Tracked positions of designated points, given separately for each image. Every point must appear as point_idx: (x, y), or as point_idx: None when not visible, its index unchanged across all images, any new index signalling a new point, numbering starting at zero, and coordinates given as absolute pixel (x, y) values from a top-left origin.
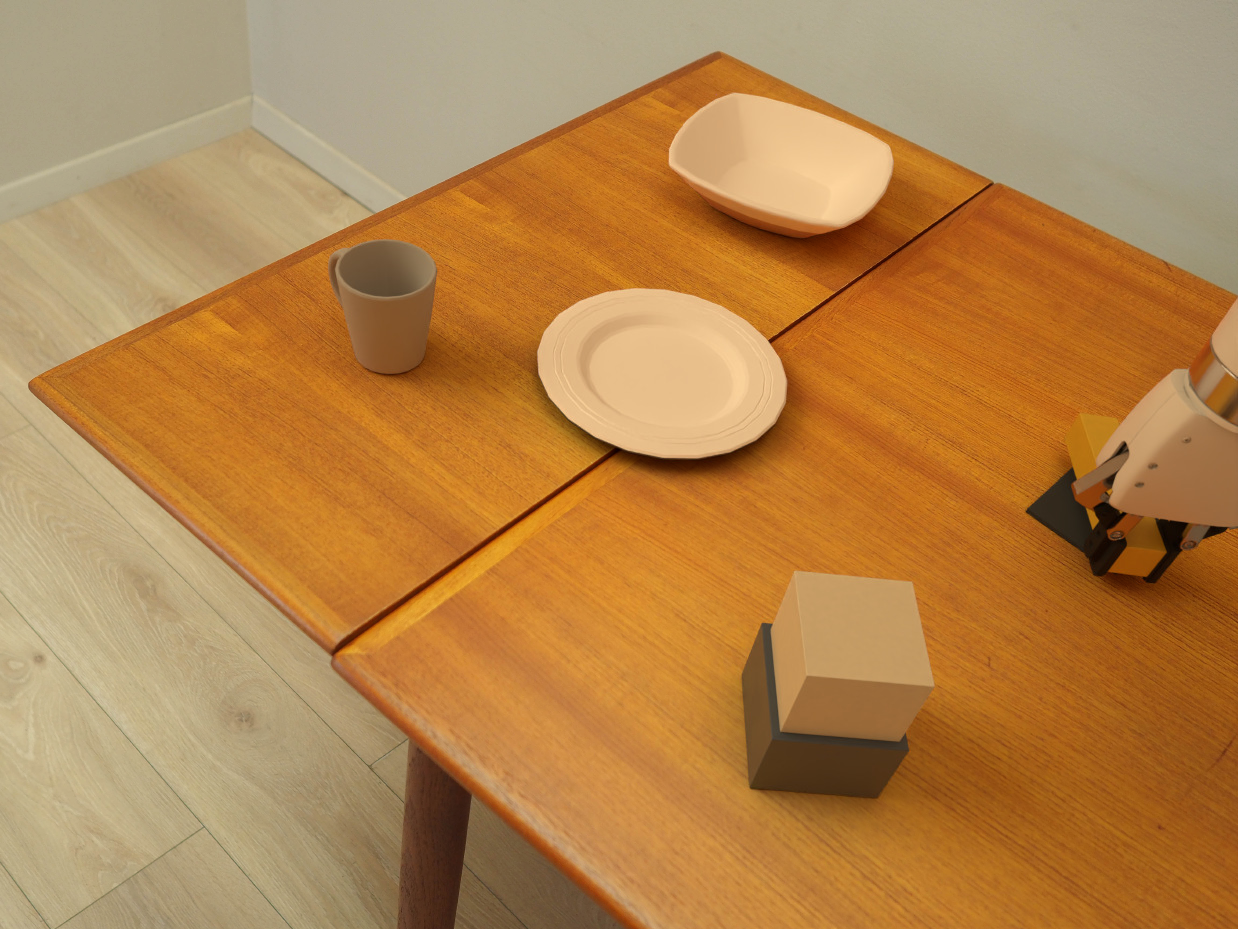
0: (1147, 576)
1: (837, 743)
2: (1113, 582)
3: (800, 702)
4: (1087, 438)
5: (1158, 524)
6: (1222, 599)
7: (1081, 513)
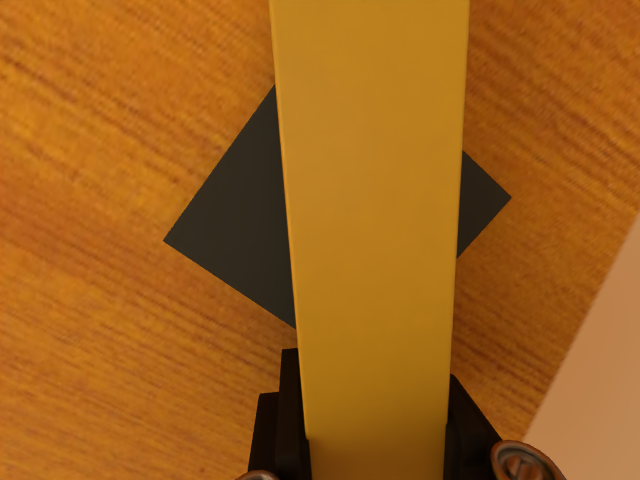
0: None
1: None
2: None
3: None
4: (268, 3)
5: (449, 443)
6: (553, 361)
7: None
